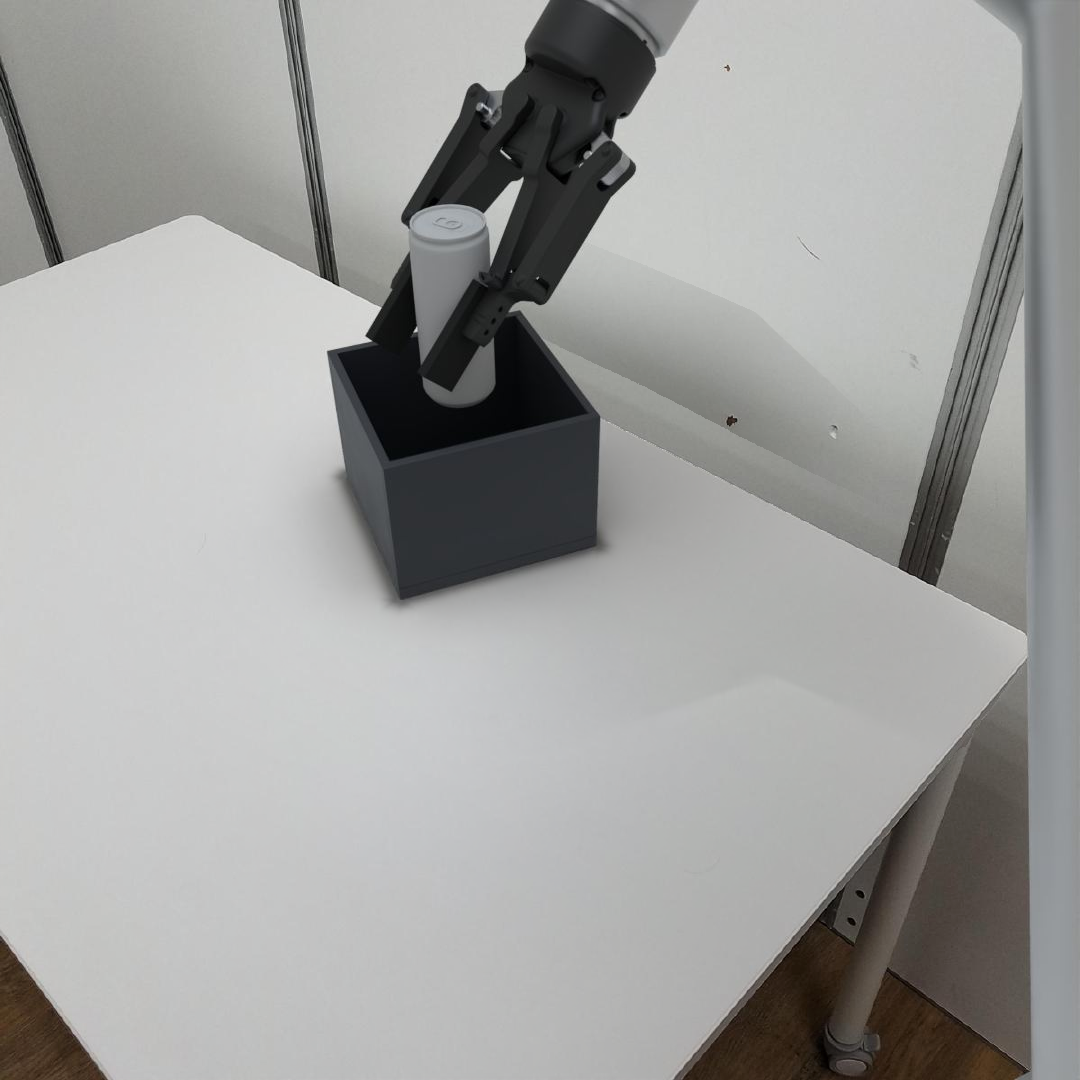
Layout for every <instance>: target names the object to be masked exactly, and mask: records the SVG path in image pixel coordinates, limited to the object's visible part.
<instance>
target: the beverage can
mask: <svg viewBox="0 0 1080 1080" xmlns="http://www.w3.org/2000/svg"><path fill="white" fill-rule="evenodd" d="M490 245H491V243H490V231H489V226H488V225H487V217H486V215H485V213H484V214H483V213H482V212H480V211H479V210H477V209H475V208H472V207H469V206H464V205H454V204H448V205H438V206H432V207H429V208H426V209H423V210H421V211H419V212H417V213H416V214H415V215H414V216H412V218H411V220H410V230H409V229H408V246H409V248H408V249H409V251H410V259H411V270H412V280H413V291H414V301H415V311H416V321H417V327H416V332H418V340H419V349H420V359H421V365H422V363H423V362H424V360H425V358H426V357H427V355H428V353H429V351H430V350H431V348H432V346H433V345H434V343H435V341H436V340H437V338H438V336H439V335H440V333H441V331H442V330H443V328H444V326H445V325H446V323H447V321H448V320H449V318H450V316H451V315H452V313H453V311H454V310H455V308H456V306H457V305H458V303H459V301H460V300H461V298H462V296H463V295H464V293H465V291H466V290H467V288H468V286H469V285H470V283H471V281H472V280H473V279H475V280H476V281H478V282H480V283H481V284H483V285H484V286H486V287H488V286H487V285H486V284H485V283H483V282H482V281H481V280H480V279H479V271H481V272H482V273H483V272H486V273H488V272H489V270H490V267H491V246H490ZM422 378H423V387H424V389H425V391H426V393H427V394H428V395H429V396H430V397H431V398H432V399H433V400H434V401H435V402H437V403H439V404H440V405H443V406H446V407H452V408H464V407H469V406H473V405H476V404H478V403H480V402H482V401H483V400H485V399H486V398H487V397H488V395H489V394H490V393H491V392H492V391H493V389H494V386H495V361H494V337H493V339H492V340H491V342H490V343H489V344H488V345H487V346H485V347H484V348H483V347H482V346H479V348H478V350H477V351H476V353H475V355H474V356H473V358H472V360H471V361H470V363H469V365H468V366H467V368H466V370H465V371H464V373H463V375H462V376H461V378H460V379H459V381H458V383H457V384H456V386H455V388H454V389H453V391H452V392H450V391H448V390H446V389H445V388H443V387H441V386H439V385H437V384H435V383H433V382H431V381H429V380H428V379H426V378H424V377H422Z"/></svg>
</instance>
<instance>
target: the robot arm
mask: <svg viewBox="0 0 1080 1080" xmlns="http://www.w3.org/2000/svg"><path fill="white" fill-rule="evenodd" d="M973 1H974V2H975V3H976V4H977V5H979V6H980V7H982V8H983V9H984V10H985V11H987V12H988V13H989V14H990V15H992V16H993V17H994V18H995V19H996V20H998V21H999V22H1001V23H1002V24H1003V25H1004V26H1005V27H1006V28H1008V29H1009V30H1011V32H1013V33H1014V34H1015V36H1016V37H1017V39H1018V41H1019V43H1020V44H1021V112H1022V113H1021V117H1022V118H1021V119H1022V120H1021V125H1022V126H1021V127H1022V128H1021V132H1022V136H1021V137H1022V219H1023V220H1022V222H1023V223H1022V229H1023V230H1022V231H1023V233H1022V235H1023V236H1022V237H1023V239H1022V240H1023V241H1022V242H1023V245H1022V246H1023V332H1024V333H1023V337H1024V338H1023V340H1024V341H1023V343H1024V346H1023V347H1024V348H1023V349H1024V353H1023V354H1024V428H1025V429H1024V441H1025V442H1024V443H1025V445H1024V447H1025V448H1024V449H1025V453H1024V454H1025V457H1024V458H1025V459H1024V460H1025V546H1026V547H1025V548H1026V549H1025V550H1026V551H1025V553H1026V555H1025V556H1026V557H1025V558H1026V559H1025V560H1026V562H1025V563H1026V564H1025V565H1026V654H1027V655H1026V659H1027V660H1026V661H1027V662H1026V664H1027V665H1026V666H1027V668H1026V669H1027V670H1026V671H1027V672H1026V673H1027V754H1028V755H1027V761H1028V762H1027V764H1028V765H1027V766H1028V767H1027V768H1028V769H1027V770H1028V771H1027V772H1028V777H1027V778H1028V779H1027V780H1028V782H1027V783H1028V873H1029V875H1028V876H1029V877H1028V879H1029V882H1028V883H1029V972H1030V973H1029V977H1030V979H1029V980H1030V981H1029V986H1030V987H1029V988H1030V990H1029V991H1030V992H1029V993H1030V996H1029V997H1030V1070H1029V1071H1028V1072H1027V1073H1024V1074H1022V1075H1020V1076H1019V1077H1016V1078H1015V1079H1014V1080H1080V0H973ZM698 3H699V0H548V2H547V4H546V6H544V7H545V8H544V9H543V10H542V12H541V14H540V16H539V18H538V19H537V21H536V22H535V25H534V26H533V28H532V29H531V31H530V33H529V34H528V37H527V38H526V40H525V42H524V47H523V48H524V55H525V62H524V67H523V68H522V70H521V71H520V72H519V73H518V75H516V76H515V78H512V80H511V81H510V82H509V83H508V84H507V85H506V86H505V88H504V89H502V90H487V89H486V88H485V87H484V86H482V84H481V83H479V82H474V83H472V84H471V85H469V87H468V88H467V90H466V92H465V96H464V99H463V102H462V105H461V109H460V112H459V115H458V117H457V119H456V121H455V123H454V124H453V126H452V128H451V130H450V131H449V133H448V134H447V137H446V138H445V140H444V142H443V143H442V145H441V147H440V148H439V150H438V151H437V153H436V155H435V157H434V159H433V160H432V162H431V164H430V165H429V167H428V168H427V170H426V172H425V174H424V176H423V177H422V178H421V181H420V182H419V184H418V185H417V188H416V189H415V190H414V192H413V194H412V196H411V198H410V199H409V201H408V202H407V204H406V206H405V208H404V209H403V211H402V213H401V215H400V221H401V223H402V224H403V226H406V227H407V229H408V231H409V230H410V220H411V218H412V216H414V215H415V214H416V213H417V212H419V211H421V210H423V209H426V208H429V207H432V206H438V205H448V204H454V205H464V206H469V207H472V208H475V209H477V210H479V211H480V212H482V213H483V214H484V215H485V213H486V212H487V211H488V209H489V208H490V207H491V206H492V205H493V203H494V202H495V201H496V200H497V199H498V198H499V197H500V196H501V194H502V193H503V192H504V191H505V190H506V188H507V187H508V186H509V185H510V184H511V183H512V182H519V181H521V179H522V182H521V186H520V188H519V191H518V193H517V196H516V198H515V202H514V204H513V206H512V210H511V212H510V215H509V217H508V219H507V223H506V225H505V228H504V230H503V233H502V236H501V238H500V241H499V244H498V246H497V248H496V251H495V254H494V257H493V260H492V261H491V263H490V265H491V267H490V270H489V272H488V273H486V272H483V273H482V272H481V271H479V279H480V280H481V281H482V282H483V283H485V284H486V285H487V286H488V287H486V286H484V285H483V284H481V283H480V282H478V281H476V280H475V279H473V280H472V281H471V283H470V285H469V286H468V288H467V290H466V291H465V293H464V295H463V296H462V298H461V300H460V301H459V303H458V305H457V306H456V308H455V310H454V311H453V313H452V315H451V316H450V318H449V320H448V321H447V323H446V325H445V326H444V328H443V330H442V331H441V333H440V335H439V336H438V338H437V340H436V341H435V343H434V345H433V346H432V348H431V350H430V351H429V353H428V355H427V357H426V358H425V360H424V362H423V363H422V365H421V367H420V368H419V370H418V372H417V373H418V374H420V375H421V376H422V377H424V378H426V379H428V380H429V381H431V382H433V383H435V384H437V385H439V386H441V387H443V388H445V389H446V390H448V391H450V392H452V391H453V389H454V388H455V386H456V384H457V383H458V381H459V379H460V378H461V376H462V375H463V373H464V371H465V370H466V368H467V366H468V365H469V363H470V361H471V360H472V358H473V356H474V355H475V353H476V351H477V350H478V348H479V346H482V347H483V348H484V347H485V346H487V345H488V344H489V343H490V342H491V340H492V339H493V337H494V335H495V333H496V332H497V330H498V328H499V327H500V325H501V324H502V322H503V320H504V319H505V317H506V315H507V314H508V312H510V311H511V309H512V307H514V305H515V304H518V303H520V302H529V303H534V304H536V305H537V306H543V305H545V304H547V303H548V301H550V299H551V298H552V295H553V294H554V292H555V291H556V289H557V288H558V286H559V284H560V282H561V281H562V279H563V278H564V276H565V274H566V272H567V271H568V269H569V268H570V266H571V264H572V263H573V261H574V259H575V258H576V256H577V254H578V252H579V251H580V249H581V248H582V246H583V245H584V243H585V241H586V240H587V238H588V237H589V234H590V233H591V231H592V230H593V229H594V226H595V225H596V223H597V221H598V220H599V218H600V217H601V215H602V213H603V211H604V210H605V208H606V206H607V205H608V204H609V201H610V200H611V198H612V197H614V195H615V194H616V193H618V191H620V190H621V188H623V187H624V186H625V185H626V184H627V183H628V182H629V181H630V180H631V179H632V178H633V177H634V176H635V174H636V171H637V165H636V163H635V162H634V161H633V160H632V159H631V157H630V156H629V155H627V153H626V152H624V150H622V148H621V147H620V146H619V145H618V144H617V143H616V142H615V141H613V138H614V134H615V128H616V125H617V121H618V120H623V119H626V118H628V117H629V116H630V115H631V114H632V113H633V111H634V109H635V107H636V105H637V104H638V102H639V101H640V99H641V97H642V96H643V94H644V92H645V91H646V90H647V87H648V86H649V84H650V82H651V81H652V80H653V77H654V76H655V75H656V73H657V66H656V65H657V63H656V59H658V58H662V57H665V56H666V55H667V53H668V51H669V50H670V48H671V46H672V45H673V44H674V41H675V40H676V38H677V36H678V35H679V33H680V32H681V30H682V29H683V27H684V25H685V24H686V23H687V21H688V19H689V17H690V15H691V14H692V12H693V10H694V9H695V7H696V6H697V4H698ZM389 288H390V289H391V291H390V292H389V294H388V296H387V298H386V299H385V301H384V303H383V304H382V306H381V308H380V310H379V311H378V313H377V315H376V317H375V318H374V319H373V321H372V323H371V324H370V327H369V328H368V330H367V332H366V333H365V335H364V337H366V338H367V339H369V340H370V342H371V341H373V342H375V343H377V344H379V345H380V346H382V347H384V348H386V349H388V350H390V351H391V352H393V353H395V354H397V355H399V356H400V354H401V353H402V351H403V349H404V348H405V346H406V344H407V342H408V341H409V339H410V337H411V336H412V334H413V333H414V332H416V330H417V321H416V311H415V301H414V291H413V280H412V270H411V259H410V250H408V252H407V254H406V256H405V257H404V259H403V261H402V263H400V266H399V267H398V269H397V271H396V273H395V275H394V276H393V278H392V280H391V283H390V287H389Z"/></svg>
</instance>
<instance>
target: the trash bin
mask: <svg viewBox="0 0 1080 1080" xmlns="http://www.w3.org/2000/svg"><path fill="white" fill-rule="evenodd" d="M529 321H530V320H528V319H527V318H526V316H525V315H524V313H523V312H522V310H520V309H518V310H514V311H509V312H508V314H507V315H506V317H505V319H504V320H503V322H502V324H501V325H500V327H499V328H498V330H497V332H496V333H495V335H494V361H495V386H494V389H493V391H492V392H491V393H490V394H489V395H488V397H487V398H486V399H485V400H483V401H482V402H480V403H478V404H476V405H473V406H469V407H464V408H452V407H446V406H443V405H440V404H439V403H437V402H435V401H434V400H433V399H432V398H431V397H430V396H429V395H428V394H427V393H426V391H425V389H424V387H423V378H422V376H421V375H420V374H418V373H417V372H418V370H419V368H420V367H421V359H420V349H419V340H418V331H414V332H413V334H412V336H411V337H410V339H409V341H408V342H407V344H406V346H405V348H404V349H403V351H402V353H401V354H400V356H399V355H397V354H395V353H393V352H391V351H390V350H388V349H386V348H384V347H382V346H380V345H379V344H377V343H375V342H373V341H371V340H370V341H367V342H362V343H356V344H352V345H348V346H343V347H338V348H334V349H329V350H327V351H326V355H327V362H328V368H329V369H328V370H329V374H330V381H331V386H332V393H333V398H334V399H333V400H334V407H335V412H336V419H337V424H338V430H339V437H340V444H341V449H342V450H341V451H342V456H343V464H344V468H345V476H346V478H347V480H348V483H349V485H350V488H351V489H352V492H353V495H354V496H355V499H356V502H357V504H358V506H359V508H360V511H361V513H362V515H363V518H364V520H365V522H366V524H367V527H368V529H369V532H370V533H371V536H372V538H373V541H374V543H375V545H376V547H377V549H378V552H379V554H380V557H381V559H382V561H383V563H384V567H385V568H386V571H387V573H388V576H389V577H390V580H391V582H392V583H393V584H392V585H393V586H394V589H395V591H396V594H397V596H398V598H399V600H405V599H408V598H411V597H415V596H419V595H422V594H427V593H430V592H433V591H437V590H440V589H443V588H447V587H451V586H452V587H453V586H455V585H458V584H462V583H466V582H469V581H473V580H476V579H480V578H483V577H488V576H491V575H495V574H498V573H502V572H505V571H506V572H507V571H509V570H512V569H516V568H519V567H524V566H527V565H530V564H534V563H537V562H541V561H545V560H548V559H552V558H556V557H558V556H563V555H567V554H570V553H573V552H574V553H575V552H577V551H581V550H584V549H588V548H592V547H595V546H597V534H598V507H599V506H598V505H599V503H598V502H599V501H598V500H599V476H600V475H599V473H600V446H601V445H600V444H601V443H600V441H601V415H600V413H599V412H598V411H597V410H596V409H595V407H594V406H593V404H592V403H591V402H590V401H589V400H588V398H587V397H586V395H585V394H584V392H583V391H582V389H581V388H579V386H578V384H577V383H576V382H575V380H574V379H573V378H572V377H571V375H570V374H569V372H568V371H567V369H565V367H564V366H563V364H562V363H561V362H560V361H559V360H558V358H557V357H556V356H555V354H554V353H553V352H552V350H551V349H550V348H549V347H548V345H547V344H546V342H545V341H544V340H543V338H542V337H541V336H540V335H539V333H538V332H537V331H536V329H535V328H534V326H533V325H532V324H531V323H530V322H529Z"/></svg>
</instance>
